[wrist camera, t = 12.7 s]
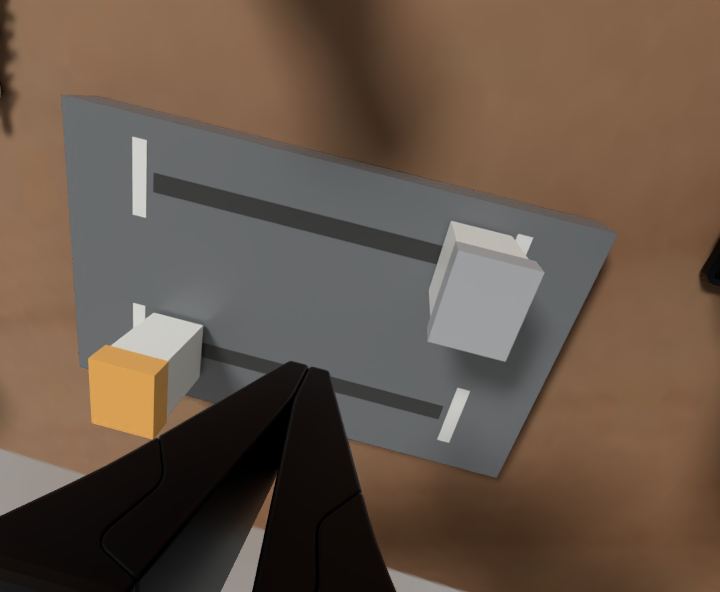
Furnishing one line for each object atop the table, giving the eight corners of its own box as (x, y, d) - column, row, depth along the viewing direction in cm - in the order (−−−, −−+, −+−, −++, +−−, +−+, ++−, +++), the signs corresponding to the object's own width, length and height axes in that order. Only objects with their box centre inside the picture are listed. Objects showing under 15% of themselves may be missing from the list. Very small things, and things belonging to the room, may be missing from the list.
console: (597, 221, 18) (618, 234, 16) (490, 449, 23) (496, 478, 21) (96, 95, 18) (61, 94, 17) (105, 347, 24) (79, 367, 22)
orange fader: (205, 324, 20) (154, 375, 16) (201, 379, 21) (153, 439, 17) (151, 310, 20) (88, 357, 16) (150, 366, 21) (91, 422, 17)
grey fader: (515, 234, 16) (544, 272, 13) (486, 307, 18) (505, 361, 14) (449, 217, 16) (458, 250, 13) (425, 291, 18) (427, 341, 14)
